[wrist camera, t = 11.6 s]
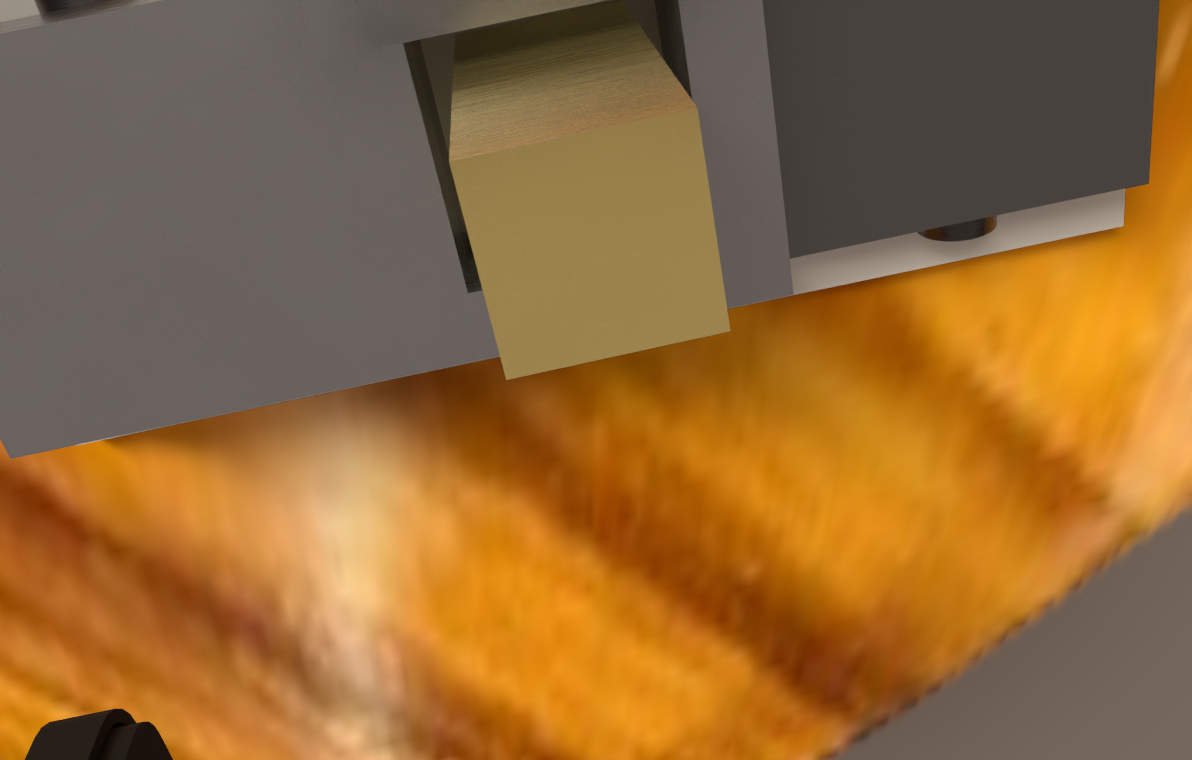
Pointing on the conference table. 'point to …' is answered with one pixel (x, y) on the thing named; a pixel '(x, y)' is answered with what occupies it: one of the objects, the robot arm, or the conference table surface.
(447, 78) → the board
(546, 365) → the pin
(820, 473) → the conference table surface
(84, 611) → the conference table surface
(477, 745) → the conference table surface
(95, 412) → the gray toy truck
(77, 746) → the robot arm
